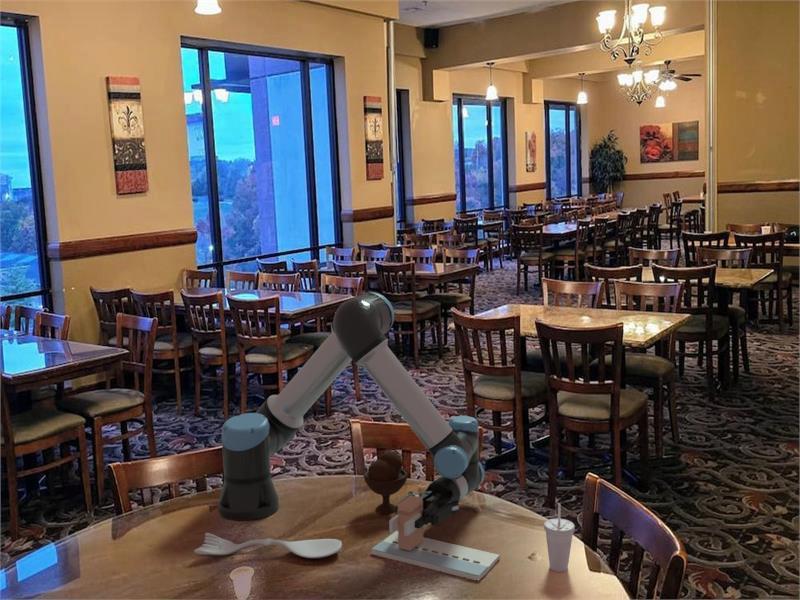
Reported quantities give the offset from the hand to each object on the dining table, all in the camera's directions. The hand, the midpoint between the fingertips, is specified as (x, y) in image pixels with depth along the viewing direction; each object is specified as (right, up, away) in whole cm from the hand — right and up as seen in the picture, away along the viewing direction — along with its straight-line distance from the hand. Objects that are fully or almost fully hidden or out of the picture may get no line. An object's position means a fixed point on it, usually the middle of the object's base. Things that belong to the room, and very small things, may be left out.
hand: (398, 528), depth 172 cm
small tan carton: (+3, -5, +6) cm, 8 cm away
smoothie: (+34, -8, -3) cm, 35 cm away
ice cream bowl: (-3, -4, +29) cm, 29 cm away
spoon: (-28, -8, +6) cm, 30 cm away
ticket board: (+8, -7, +3) cm, 11 cm away
